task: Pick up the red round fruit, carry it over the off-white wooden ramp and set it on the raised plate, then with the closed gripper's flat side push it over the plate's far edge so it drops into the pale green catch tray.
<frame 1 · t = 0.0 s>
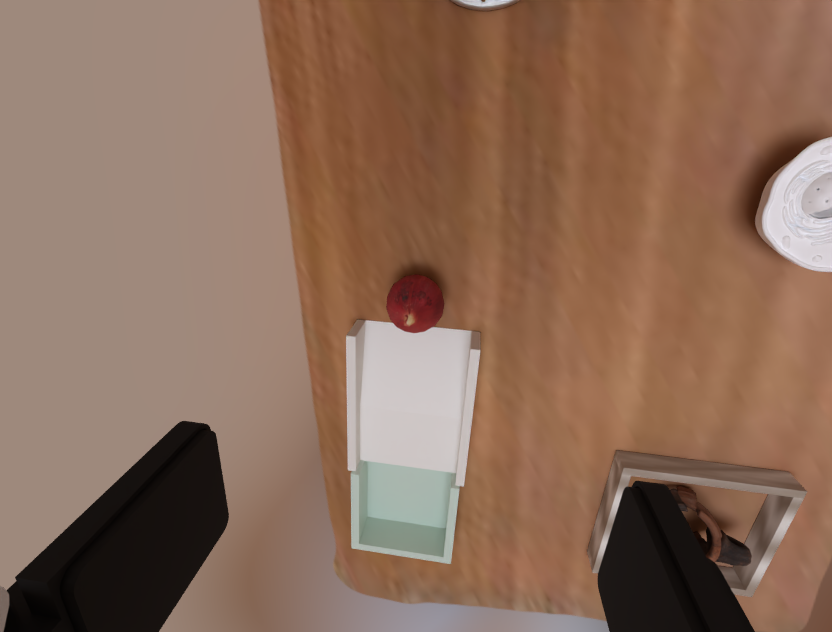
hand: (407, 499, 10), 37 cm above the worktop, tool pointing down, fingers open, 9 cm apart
red round fruit: (420, 291, 47), on the worktop
mug stand: (679, 514, 54), on the worktop
cell model: (798, 201, 39), on the worktop
bench: (413, 400, 53), on the worktop
pottery mug: (678, 513, 54), on the worktop
catch tray: (405, 504, 56), on the worktop
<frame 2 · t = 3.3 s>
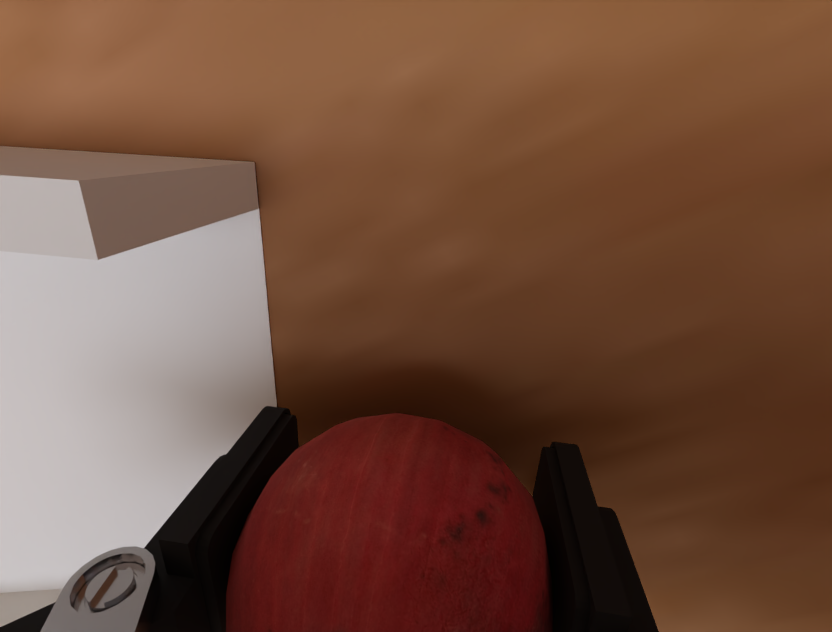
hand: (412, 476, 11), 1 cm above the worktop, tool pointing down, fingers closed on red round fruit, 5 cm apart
red round fruit: (420, 439, 12), on the worktop, touching gripper
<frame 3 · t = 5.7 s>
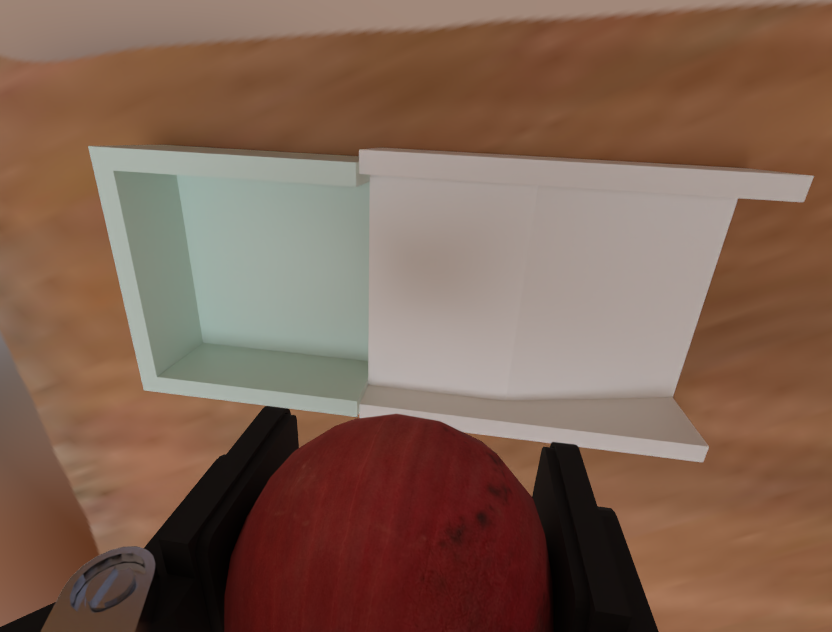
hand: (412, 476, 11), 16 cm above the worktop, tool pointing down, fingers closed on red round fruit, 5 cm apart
red round fruit: (420, 440, 12), point 14 cm above the worktop, touching gripper
bench: (516, 287, 25), on the worktop
catch tray: (257, 278, 24), on the worktop
when the fingers open (5 cm above the worktop, at t = 8.1 s): red round fruit drops 1 cm, resting on bench.
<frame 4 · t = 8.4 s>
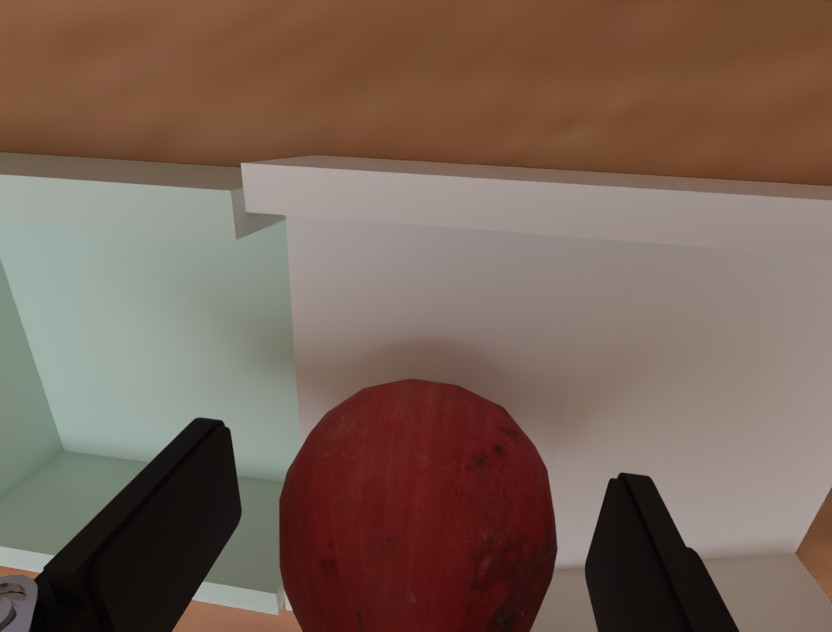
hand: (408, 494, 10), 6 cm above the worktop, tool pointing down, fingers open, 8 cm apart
red round fruit: (427, 411, 13), point 2 cm above the worktop, touching bench
bench: (548, 384, 15), on the worktop
catch tray: (113, 375, 14), on the worktop
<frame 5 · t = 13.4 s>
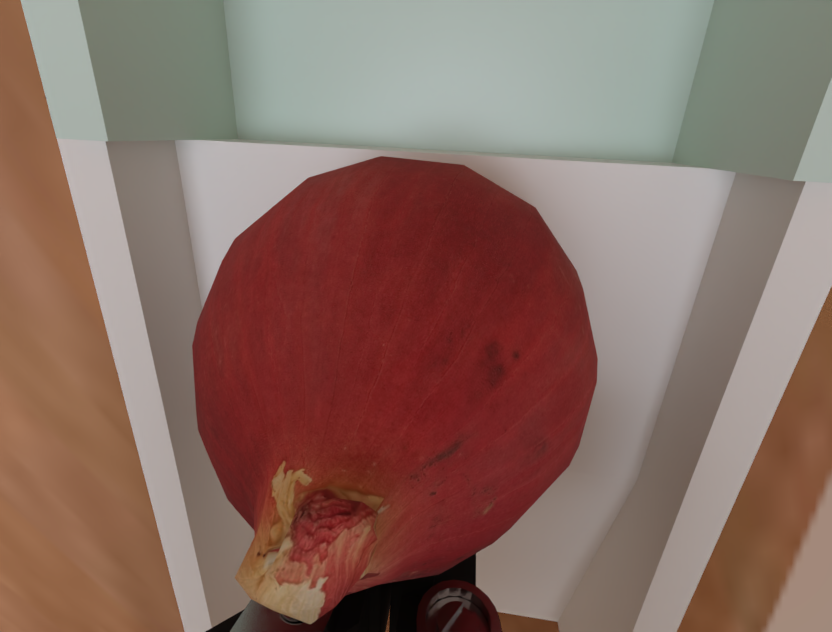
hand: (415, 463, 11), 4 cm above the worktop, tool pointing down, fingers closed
red round fruit: (428, 279, 11), point 2 cm above the worktop, touching bench, gripper
bench: (427, 402, 15), on the worktop
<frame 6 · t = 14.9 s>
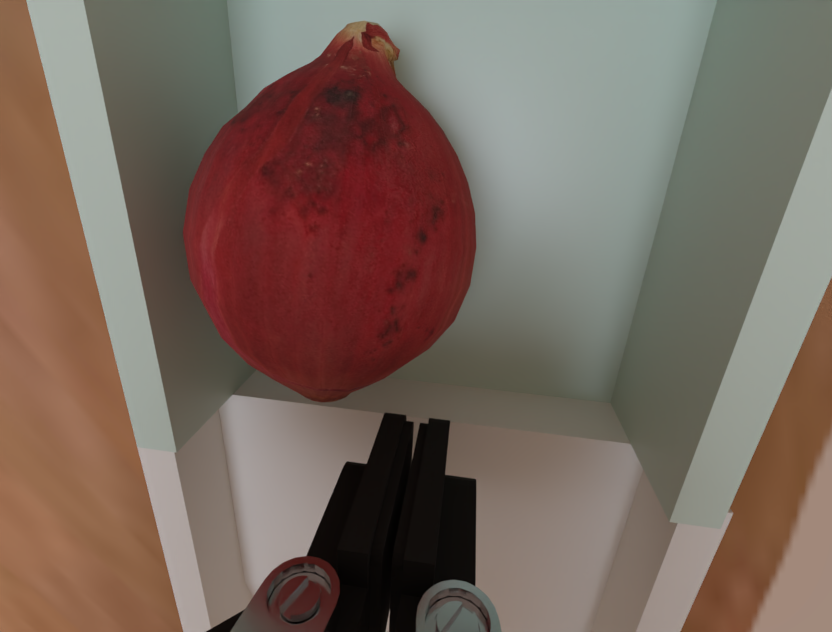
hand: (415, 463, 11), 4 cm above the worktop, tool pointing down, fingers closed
red round fruit: (320, 407, 10), point 4 cm above the worktop, touching catch tray
bench: (418, 547, 17), on the worktop
catch tray: (437, 180, 9), on the worktop
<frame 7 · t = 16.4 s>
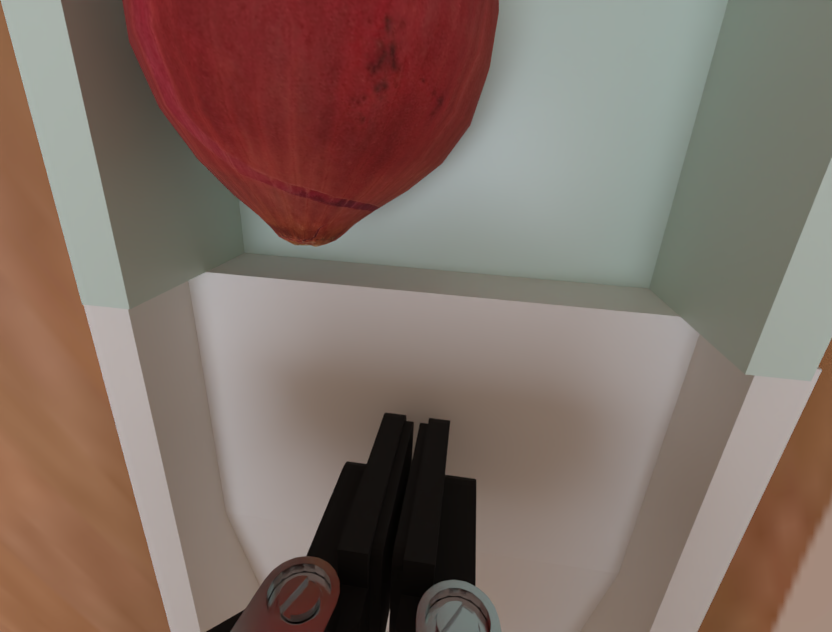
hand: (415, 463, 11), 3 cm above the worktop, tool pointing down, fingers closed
red round fruit: (301, 256, 8), point 4 cm above the worktop, touching catch tray
bench: (422, 481, 15), on the worktop
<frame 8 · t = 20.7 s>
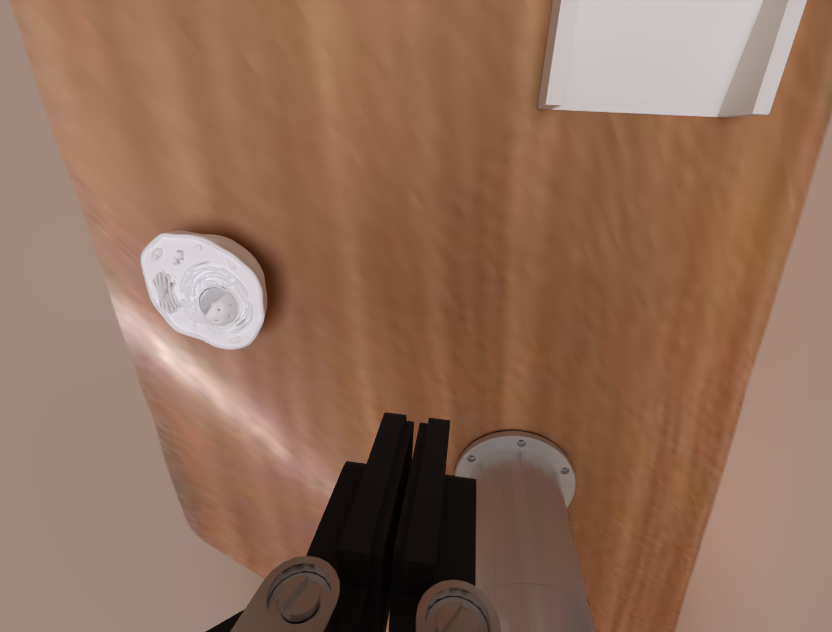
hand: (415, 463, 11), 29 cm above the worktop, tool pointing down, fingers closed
cell model: (232, 275, 43), on the worktop
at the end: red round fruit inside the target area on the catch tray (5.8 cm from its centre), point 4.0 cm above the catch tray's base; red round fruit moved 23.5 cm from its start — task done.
